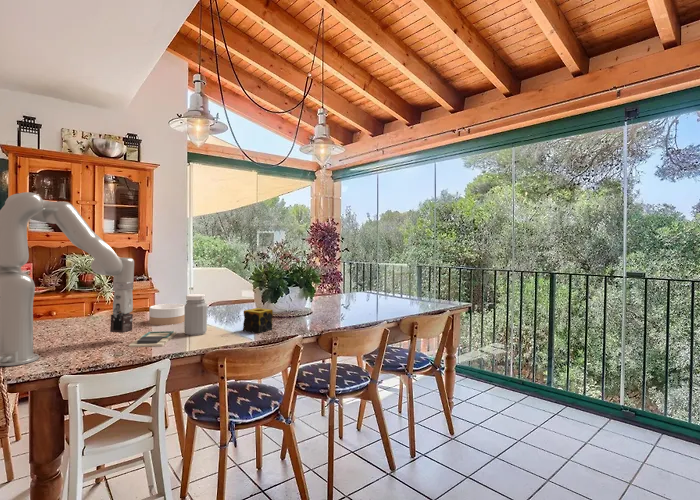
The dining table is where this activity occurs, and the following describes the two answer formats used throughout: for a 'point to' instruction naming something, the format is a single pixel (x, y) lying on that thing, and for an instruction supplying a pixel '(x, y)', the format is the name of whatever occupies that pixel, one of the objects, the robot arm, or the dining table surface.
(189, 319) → the jar
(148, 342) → the stamp board
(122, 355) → the dining table surface
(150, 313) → the bowl
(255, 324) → the candle
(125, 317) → the box
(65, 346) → the dining table surface
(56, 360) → the dining table surface
